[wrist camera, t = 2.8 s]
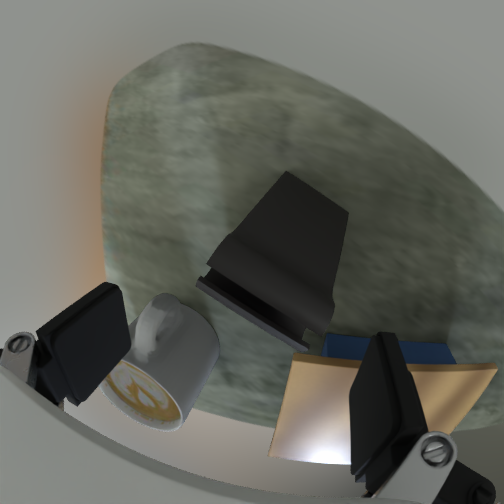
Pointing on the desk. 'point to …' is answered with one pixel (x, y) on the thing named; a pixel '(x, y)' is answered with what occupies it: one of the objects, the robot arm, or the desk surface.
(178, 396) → the coffee mug
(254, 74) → the desk surface
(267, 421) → the desk surface
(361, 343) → the blue box
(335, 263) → the phone stand
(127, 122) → the desk surface
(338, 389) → the oak board
